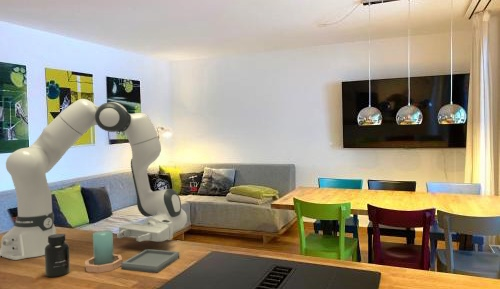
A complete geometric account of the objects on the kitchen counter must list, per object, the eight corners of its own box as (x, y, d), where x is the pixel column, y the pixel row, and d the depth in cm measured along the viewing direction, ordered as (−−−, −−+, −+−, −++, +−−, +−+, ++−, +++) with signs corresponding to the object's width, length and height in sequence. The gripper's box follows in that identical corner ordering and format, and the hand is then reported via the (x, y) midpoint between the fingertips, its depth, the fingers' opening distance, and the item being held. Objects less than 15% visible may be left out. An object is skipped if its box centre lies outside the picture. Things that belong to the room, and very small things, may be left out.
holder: (78, 270, 118) (77, 264, 118) (101, 258, 129) (101, 253, 129) (106, 273, 115) (106, 267, 115) (128, 261, 125) (128, 255, 125)
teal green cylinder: (90, 268, 120) (88, 234, 119) (102, 262, 125) (101, 229, 125) (105, 270, 118) (103, 235, 117) (117, 263, 124) (116, 230, 123)
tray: (121, 269, 118) (121, 262, 118) (146, 254, 132) (146, 249, 132) (157, 273, 114) (156, 266, 114) (179, 257, 128) (179, 251, 128)
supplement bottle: (59, 278, 112) (58, 239, 112) (40, 277, 114) (38, 238, 113) (75, 269, 119) (73, 232, 118) (56, 268, 120) (54, 232, 120)
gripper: (135, 217, 148) (106, 225, 136) (175, 222, 138) (149, 231, 126) (135, 233, 148) (107, 242, 136) (176, 239, 138) (149, 250, 126)
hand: (127, 237), depth 131 cm, fingers open, 8 cm apart
